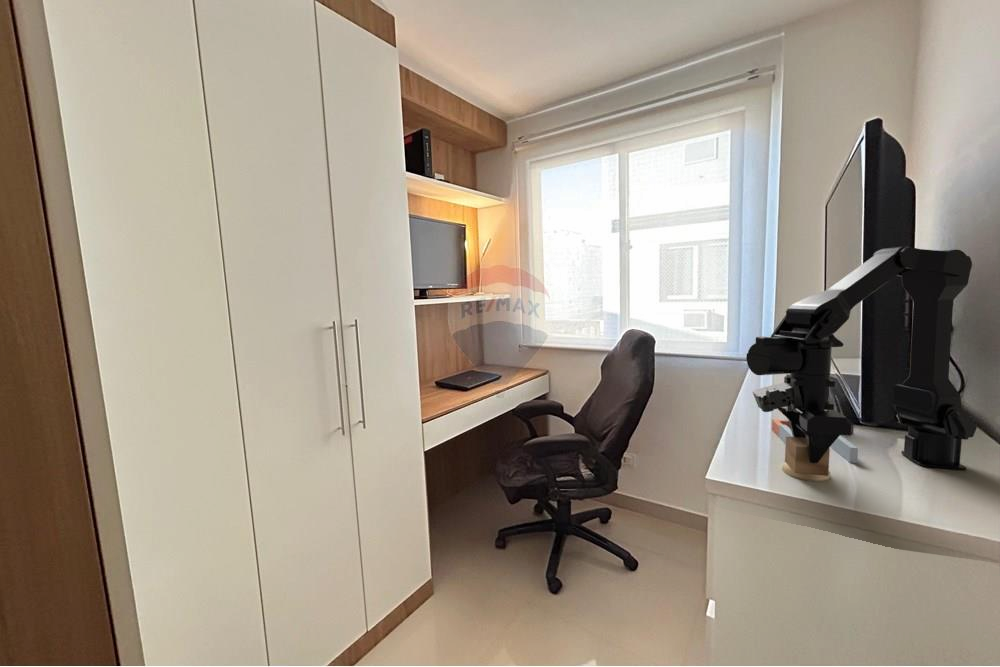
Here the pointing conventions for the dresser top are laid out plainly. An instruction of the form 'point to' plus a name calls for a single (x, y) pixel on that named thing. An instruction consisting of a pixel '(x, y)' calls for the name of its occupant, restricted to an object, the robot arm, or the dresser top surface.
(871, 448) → the dresser top surface
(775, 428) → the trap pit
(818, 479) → the cork coaster
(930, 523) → the dresser top surface
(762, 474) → the dresser top surface
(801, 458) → the walnut block
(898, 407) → the robot arm
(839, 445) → the channel
